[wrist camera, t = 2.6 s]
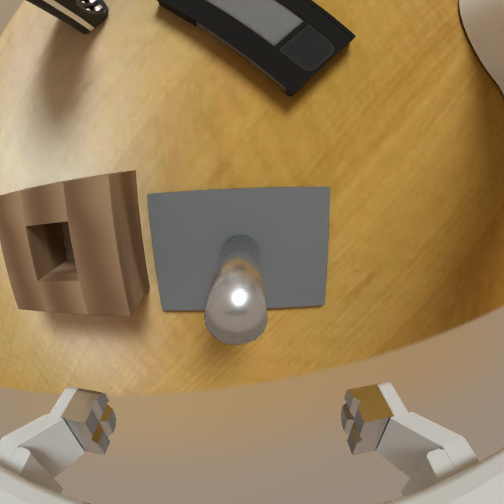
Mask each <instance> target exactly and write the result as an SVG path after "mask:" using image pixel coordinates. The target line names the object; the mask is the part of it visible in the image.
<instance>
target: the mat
mask: <svg viewBox="0 0 504 504" xmlns="http://www.w3.org/2000/svg"><path fill="white" fill-rule="evenodd" d="M147 196H148V207H149V217H150V226H151V235H152V243H153V251H154V258H155V265H156V272H157V279H158V285H159V291H160V297H161V303H162V309H163V310H205V309H206V305H207V301H208V298H209V294H210V290H211V286H212V282H213V278H214V275H215V271H216V267H217V263H218V260H219V256H220V252H221V248H222V246H223V244H224V242H225V241H226V240H227V239H228V238H229V237H231V236H234V235H239V234H240V235H246V236H249V237H251V238H252V239H253V240H254V241H255V242H256V243H257V245H258V247H259V253H260V261H261V269H262V277H263V285H264V293H265V301H266V309H267V308H288V307H306V306H321V305H324V303H325V290H326V276H327V258H328V237H329V203H330V187H265V188H235V189H214V190H196V191H181V192H168V193H155V194H148V195H147Z"/></svg>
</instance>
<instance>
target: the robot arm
mask: <svg viewBox="0 0 504 504" xmlns="http://www.w3.org/2000/svg"><path fill="white" fill-rule="evenodd" d="M459 7H460V14H461V18H462V22H463V25H464V28H465V31H466V33H467V35H468V38H469V40H470V42H471V44H472V46H473V48H474V50H475V52H476V54H477V55H478V57H479V59H480V61H481V62H482V64H483V65H484V67H485V68H486V70H487V71H488V73H489V74H490V75H491V77H492V78H493V79H494V80H495V82H496V83H497V84H498V86H499V87H500V89H501V91H502V93H503V95H504V0H460V1H459ZM345 400H346V404H345V405H344V406H343V407H342V412H341V421H342V426H343V429H344V431H345V432H346V433H348V434H349V437H348V440H347V441H348V444H349V447H350V450H351V453H352V455H355V454H360V453H365V452H370V451H374V450H376V452H377V453H379V454H380V455H381V456H382V457H384V458H385V459H386V460H387V461H389V462H390V463H391V464H393V465H394V466H395V467H397V468H398V469H399V470H400V471H402V472H403V473H404V474H406V475H407V476H408V477H410V480H409V481H408V482H407V483H406V485H405V486H404V487H403V489H402V490H401V493H402V497H400V498H397V499H394V500H391V501H387V502H384V503H381V504H504V448H502V449H500V450H498V451H497V452H495V453H494V454H492V455H490V456H489V457H487V458H485V459H483V460H482V461H480V462H479V460H478V459H477V457H476V456H475V454H474V452H473V451H472V449H471V448H470V446H469V444H468V443H467V441H466V440H465V438H464V437H463V436H461V435H459V434H456V433H454V432H452V431H450V430H448V429H446V428H444V427H442V426H440V425H438V424H436V423H434V422H432V421H430V420H427V419H426V418H424V417H422V416H420V415H418V414H416V413H414V412H408V411H407V409H406V407H405V406H404V404H403V402H402V401H401V399H400V397H399V396H398V394H397V392H396V391H395V389H394V387H393V386H392V384H391V383H390V382H384V383H380V384H376V385H370V386H364V387H360V388H354V389H348V390H347V392H346V394H345ZM108 401H109V400H108V398H107V396H106V394H105V393H102V392H96V391H91V390H86V389H79V388H74V387H70V386H69V387H67V388H65V390H64V392H63V393H62V395H61V396H60V398H59V399H58V401H57V403H56V404H55V406H54V408H53V409H52V411H51V412H50V414H49V415H48V414H45V415H43V416H41V417H40V418H38V419H36V420H34V421H32V422H30V423H29V424H27V425H25V426H23V427H21V428H19V429H17V430H15V431H14V432H12V433H10V434H8V435H6V436H4V437H2V439H1V441H0V504H90V503H86V502H83V501H80V500H77V499H74V498H71V497H68V496H66V495H63V494H61V492H62V487H61V485H60V484H59V483H58V482H57V481H56V480H55V479H54V477H56V476H57V475H58V474H59V473H61V472H62V471H63V470H64V469H65V468H67V467H68V466H69V465H70V464H71V463H72V462H74V461H75V460H76V459H77V458H79V457H80V456H81V455H82V454H83V453H84V451H87V452H92V453H97V454H102V455H105V453H106V450H107V448H108V445H109V442H110V441H109V439H108V436H109V435H111V434H112V433H113V432H114V429H115V425H116V417H115V413H114V411H113V409H112V408H111V407H110V406H108V405H107V403H108Z"/></svg>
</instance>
